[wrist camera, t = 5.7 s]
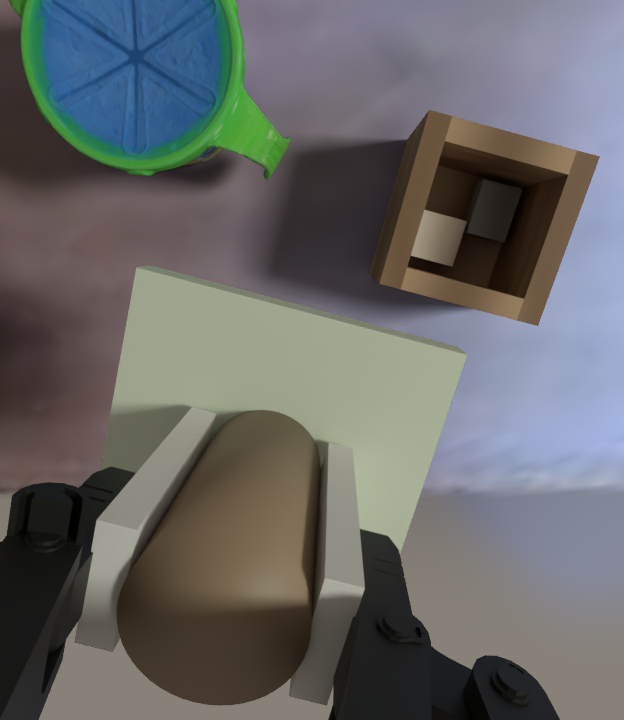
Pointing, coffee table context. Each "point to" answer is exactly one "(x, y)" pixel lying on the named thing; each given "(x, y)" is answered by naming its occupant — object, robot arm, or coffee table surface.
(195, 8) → the snack cup
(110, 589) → the robot arm
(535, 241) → the box
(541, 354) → the coffee table surface
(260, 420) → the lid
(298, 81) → the coffee table surface
